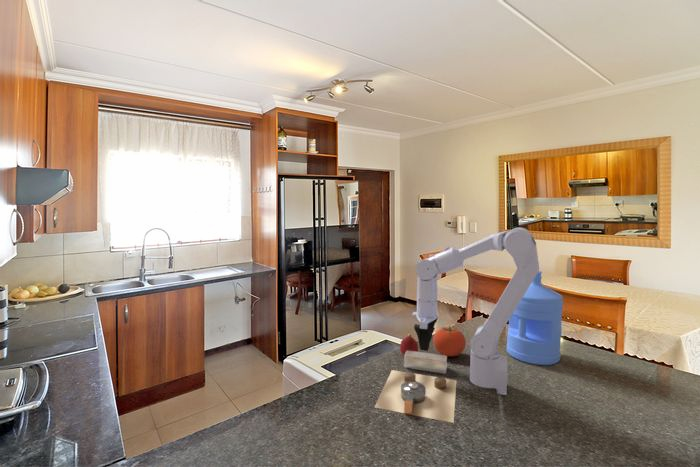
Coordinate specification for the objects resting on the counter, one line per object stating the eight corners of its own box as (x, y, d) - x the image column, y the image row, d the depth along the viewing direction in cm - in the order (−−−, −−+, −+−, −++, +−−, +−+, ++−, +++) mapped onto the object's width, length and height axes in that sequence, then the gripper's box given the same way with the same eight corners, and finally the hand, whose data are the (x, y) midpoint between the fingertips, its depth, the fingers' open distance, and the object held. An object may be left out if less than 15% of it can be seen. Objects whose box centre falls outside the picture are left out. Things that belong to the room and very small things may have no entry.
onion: (417, 363, 108) (418, 338, 108) (399, 361, 109) (399, 336, 109) (418, 355, 114) (418, 331, 113) (400, 354, 115) (400, 330, 115)
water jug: (523, 342, 125) (527, 265, 123) (569, 359, 112) (574, 273, 110) (496, 352, 117) (499, 269, 115) (542, 370, 104) (547, 278, 102)
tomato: (443, 346, 122) (443, 318, 121) (470, 355, 114) (471, 325, 114) (426, 355, 115) (427, 325, 114) (455, 365, 107) (456, 333, 106)
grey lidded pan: (403, 388, 91) (403, 376, 90) (426, 392, 89) (426, 380, 88) (395, 411, 81) (395, 397, 80) (421, 416, 79) (421, 402, 78)
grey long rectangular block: (446, 372, 103) (447, 355, 103) (445, 378, 99) (446, 361, 99) (406, 366, 107) (406, 350, 107) (403, 371, 103) (404, 355, 103)
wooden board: (456, 384, 96) (456, 373, 95) (453, 428, 77) (453, 414, 76) (391, 374, 101) (392, 364, 101) (374, 412, 82) (374, 399, 82)
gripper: (416, 292, 110) (415, 334, 111) (409, 304, 96) (408, 352, 97) (439, 294, 107) (438, 337, 108) (435, 307, 94) (434, 356, 95)
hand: (425, 344), depth 103 cm, fingers open, 7 cm apart
